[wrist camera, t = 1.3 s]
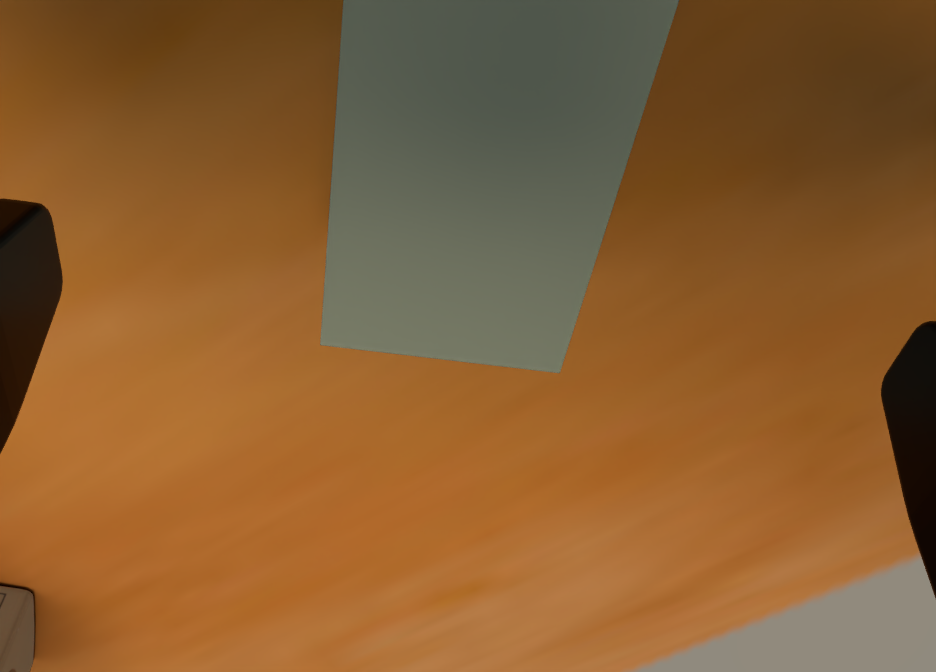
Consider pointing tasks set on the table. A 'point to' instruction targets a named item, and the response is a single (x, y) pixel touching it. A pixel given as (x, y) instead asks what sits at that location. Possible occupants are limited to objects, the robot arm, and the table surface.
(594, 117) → the key block
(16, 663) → the skincare box
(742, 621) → the table surface
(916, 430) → the robot arm
